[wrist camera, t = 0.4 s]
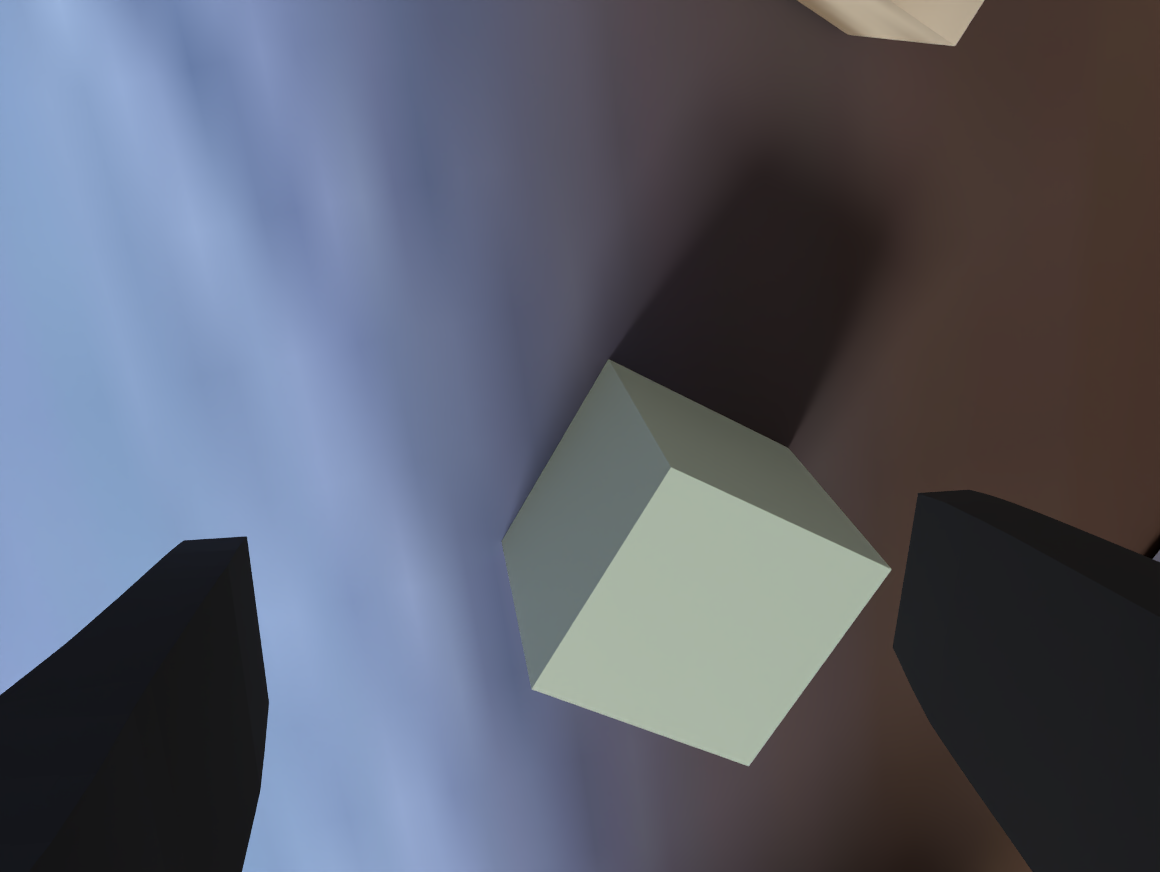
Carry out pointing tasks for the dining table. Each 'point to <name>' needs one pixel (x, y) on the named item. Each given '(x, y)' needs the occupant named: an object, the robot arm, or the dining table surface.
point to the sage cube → (681, 569)
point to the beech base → (900, 18)
